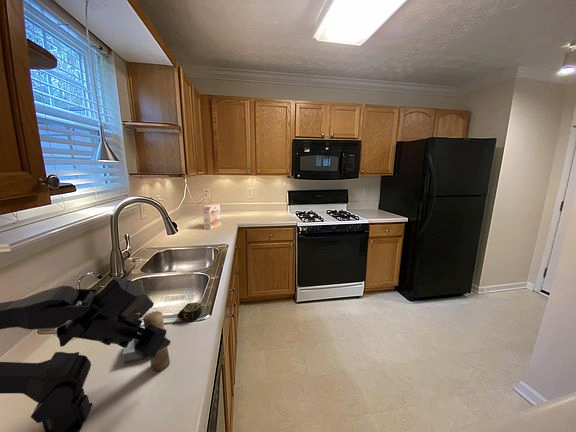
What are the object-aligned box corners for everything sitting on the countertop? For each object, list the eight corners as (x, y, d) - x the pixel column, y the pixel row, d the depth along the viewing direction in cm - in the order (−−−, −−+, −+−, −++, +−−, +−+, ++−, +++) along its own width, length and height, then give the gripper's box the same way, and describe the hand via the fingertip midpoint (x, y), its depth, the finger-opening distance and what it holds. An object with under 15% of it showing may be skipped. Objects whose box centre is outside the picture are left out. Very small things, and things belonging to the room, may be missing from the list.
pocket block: (123, 363, 67) (121, 354, 66) (132, 343, 74) (130, 335, 74) (155, 356, 69) (154, 347, 68) (161, 337, 77) (159, 329, 76)
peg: (150, 373, 63) (140, 323, 60) (153, 361, 67) (145, 313, 64) (168, 369, 65) (160, 319, 61) (170, 357, 69) (163, 310, 65)
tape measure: (189, 309, 91) (187, 300, 90) (205, 311, 90) (204, 302, 89) (177, 321, 85) (176, 311, 84) (195, 323, 83) (194, 313, 83)
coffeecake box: (211, 229, 203) (208, 206, 199) (204, 229, 206) (201, 206, 202) (221, 225, 217) (220, 203, 213) (215, 224, 220) (213, 203, 215)
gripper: (152, 298, 52) (197, 315, 64) (103, 282, 60) (151, 299, 72) (120, 356, 47) (176, 362, 59) (71, 329, 55) (129, 339, 67)
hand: (157, 337), depth 64 cm, fingers open, 9 cm apart
